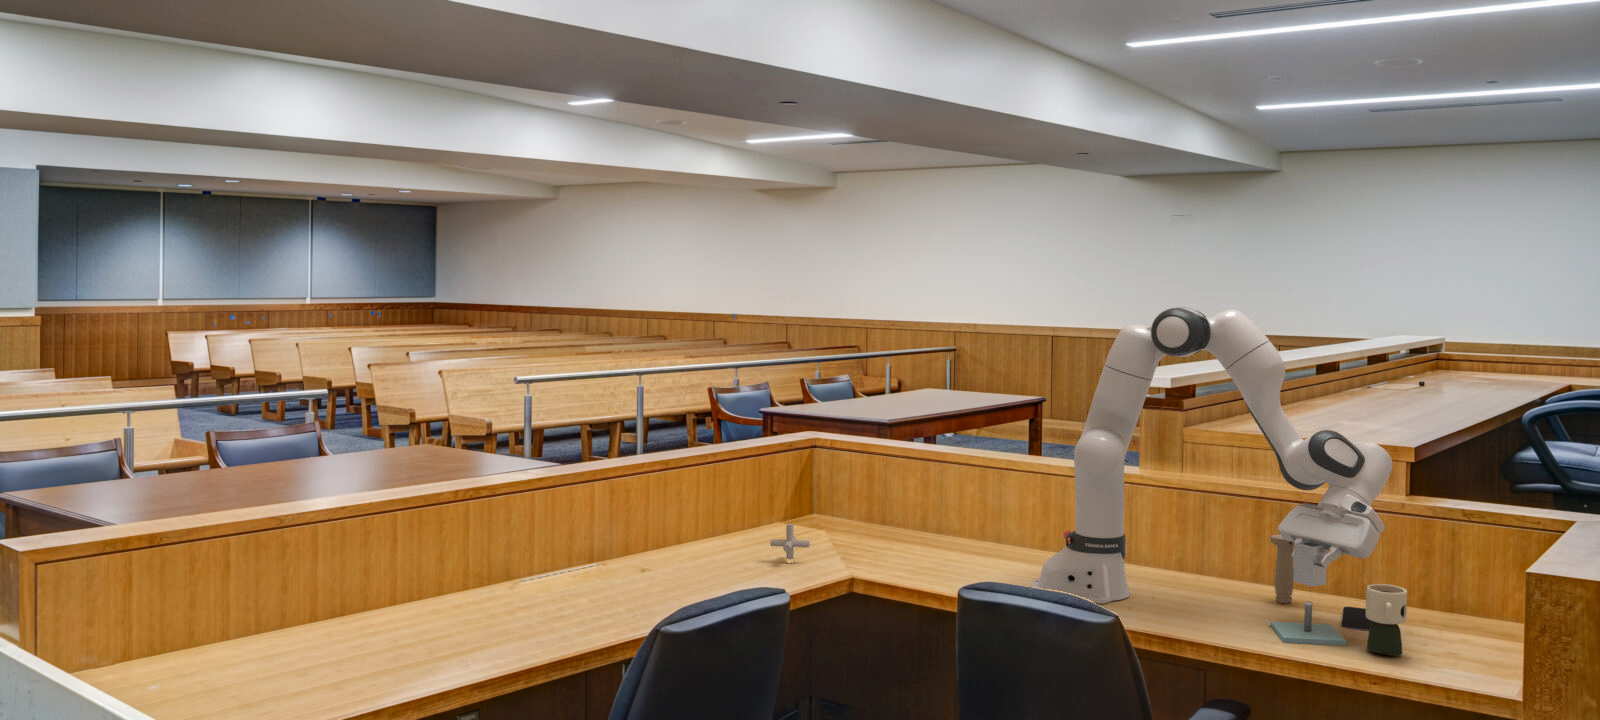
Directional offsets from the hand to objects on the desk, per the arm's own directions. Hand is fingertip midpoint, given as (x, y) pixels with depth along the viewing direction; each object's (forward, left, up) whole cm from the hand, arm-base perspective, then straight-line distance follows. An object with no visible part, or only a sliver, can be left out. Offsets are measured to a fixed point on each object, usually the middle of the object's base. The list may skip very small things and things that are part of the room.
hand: (1308, 562), depth 235 cm
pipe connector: (-116, +40, -16) cm, 123 cm away
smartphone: (+14, +13, -16) cm, 26 cm away
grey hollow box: (0, 0, -4) cm, 4 cm away
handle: (+1, +25, -16) cm, 30 cm away
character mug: (+12, -9, -16) cm, 22 cm away
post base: (0, 0, -15) cm, 15 cm away
